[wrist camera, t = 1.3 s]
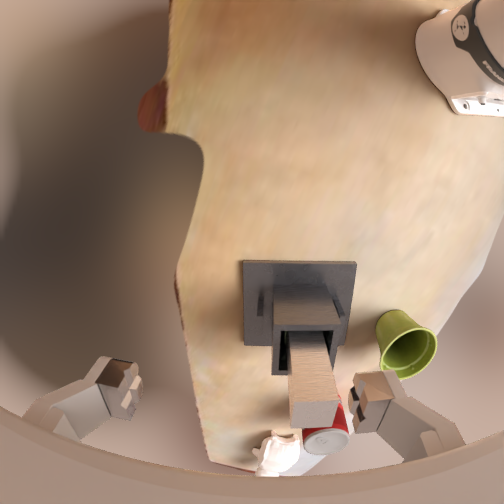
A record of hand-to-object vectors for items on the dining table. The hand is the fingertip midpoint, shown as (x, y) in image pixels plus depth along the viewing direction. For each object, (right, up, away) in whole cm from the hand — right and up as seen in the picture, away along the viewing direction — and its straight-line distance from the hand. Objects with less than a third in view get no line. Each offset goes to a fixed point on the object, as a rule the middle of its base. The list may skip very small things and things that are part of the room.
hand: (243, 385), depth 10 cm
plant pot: (+23, -7, +35) cm, 42 cm away
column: (+7, -4, +33) cm, 34 cm away
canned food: (+13, -23, +41) cm, 49 cm away
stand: (+7, -3, +34) cm, 35 cm away
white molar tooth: (+5, -39, +47) cm, 61 cm away
